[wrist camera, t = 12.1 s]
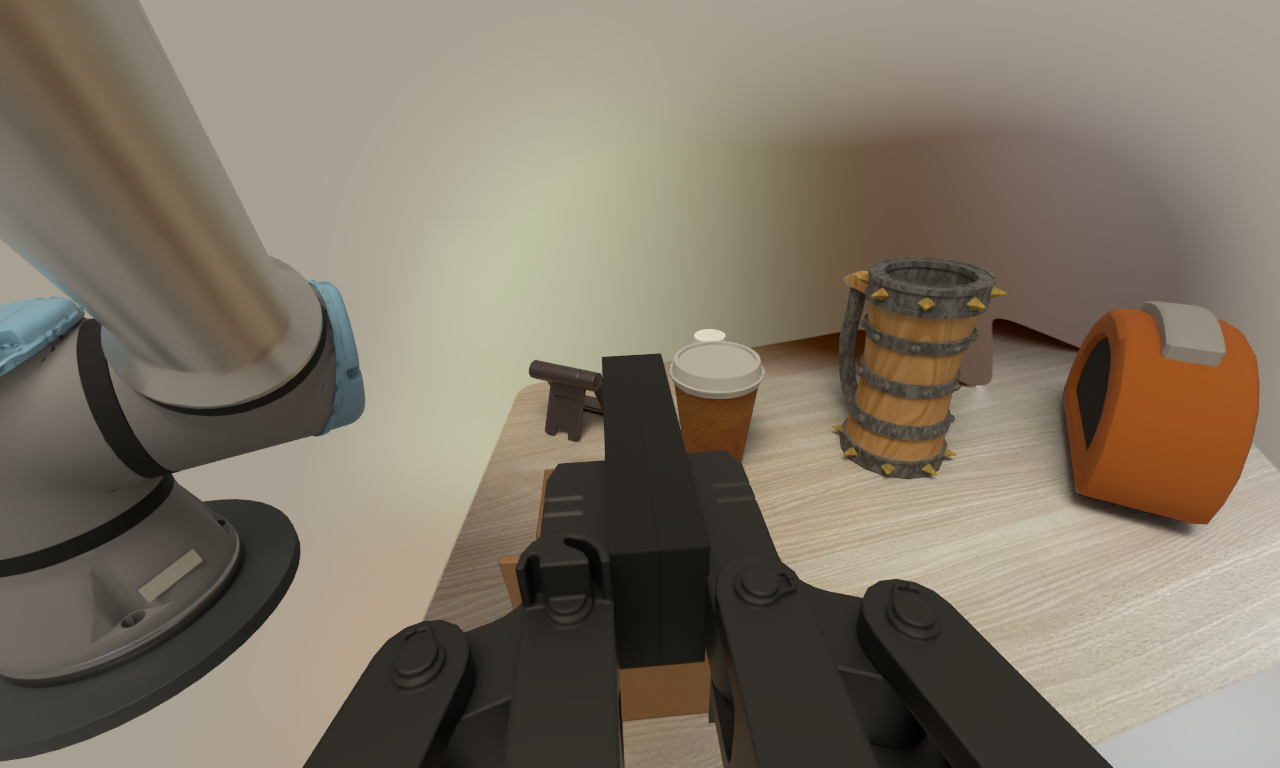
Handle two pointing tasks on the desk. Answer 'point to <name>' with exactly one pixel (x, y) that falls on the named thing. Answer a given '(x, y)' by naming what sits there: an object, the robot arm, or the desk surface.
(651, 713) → the carton
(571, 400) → the tablet stand
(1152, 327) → the alarm clock
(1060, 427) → the desk surface
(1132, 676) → the desk surface
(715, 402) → the disposable coffee cup
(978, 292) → the mug
